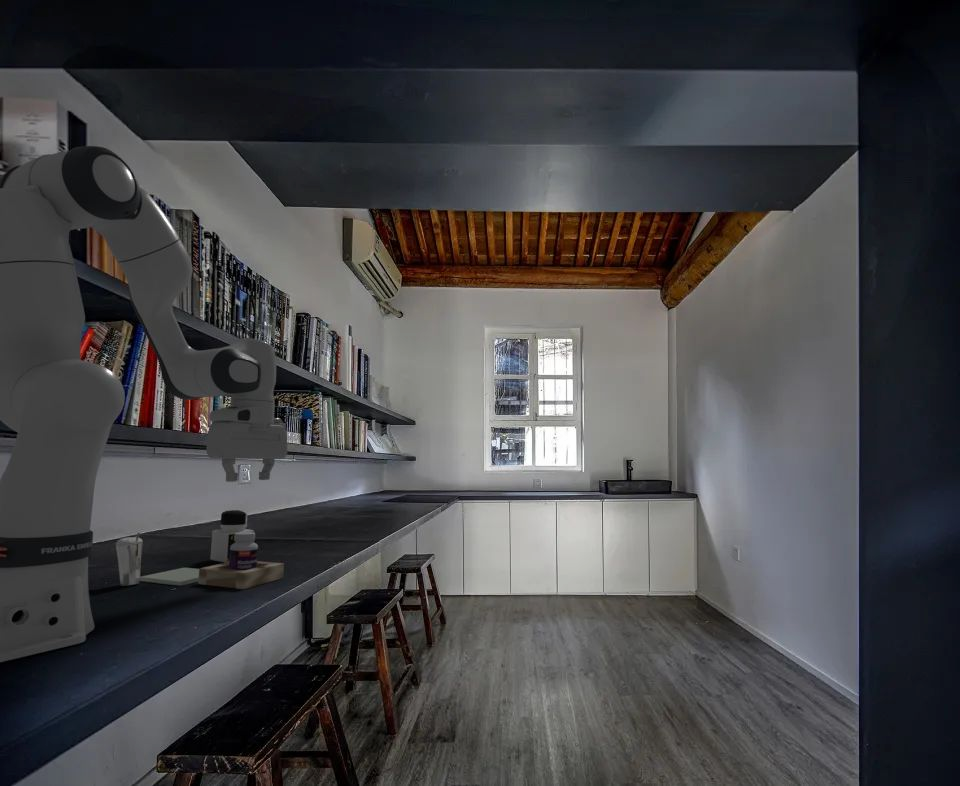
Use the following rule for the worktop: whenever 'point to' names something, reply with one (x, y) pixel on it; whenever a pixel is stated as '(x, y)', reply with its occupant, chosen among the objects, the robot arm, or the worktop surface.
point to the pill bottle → (243, 552)
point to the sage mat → (174, 577)
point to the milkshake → (129, 559)
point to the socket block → (240, 575)
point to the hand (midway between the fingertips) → (248, 480)
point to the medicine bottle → (227, 534)
